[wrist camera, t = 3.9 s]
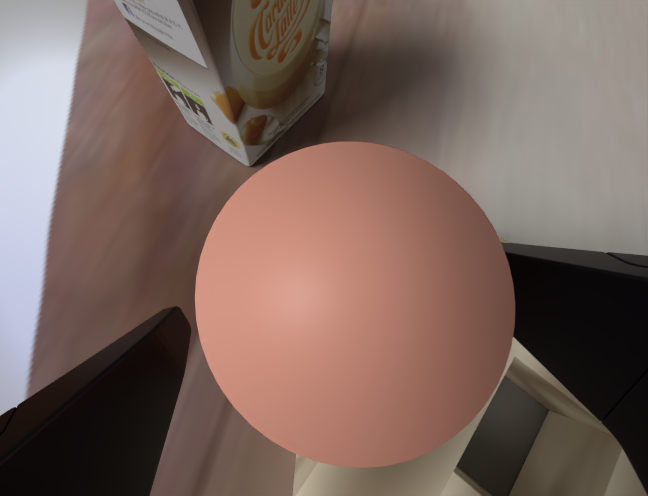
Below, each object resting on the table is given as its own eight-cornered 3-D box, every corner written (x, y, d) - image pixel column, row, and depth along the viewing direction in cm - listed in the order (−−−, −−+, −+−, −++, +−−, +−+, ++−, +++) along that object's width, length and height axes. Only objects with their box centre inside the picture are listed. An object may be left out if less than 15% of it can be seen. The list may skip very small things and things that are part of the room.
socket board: (650, 393, 17) (754, 417, 13) (543, 674, 13) (643, 827, 9) (442, 240, 18) (477, 221, 15) (296, 452, 15) (292, 500, 11)
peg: (361, 302, 17) (566, 257, 4) (323, 354, 16) (402, 562, 3) (313, 264, 18) (331, 94, 4) (274, 312, 17) (120, 306, 3)
